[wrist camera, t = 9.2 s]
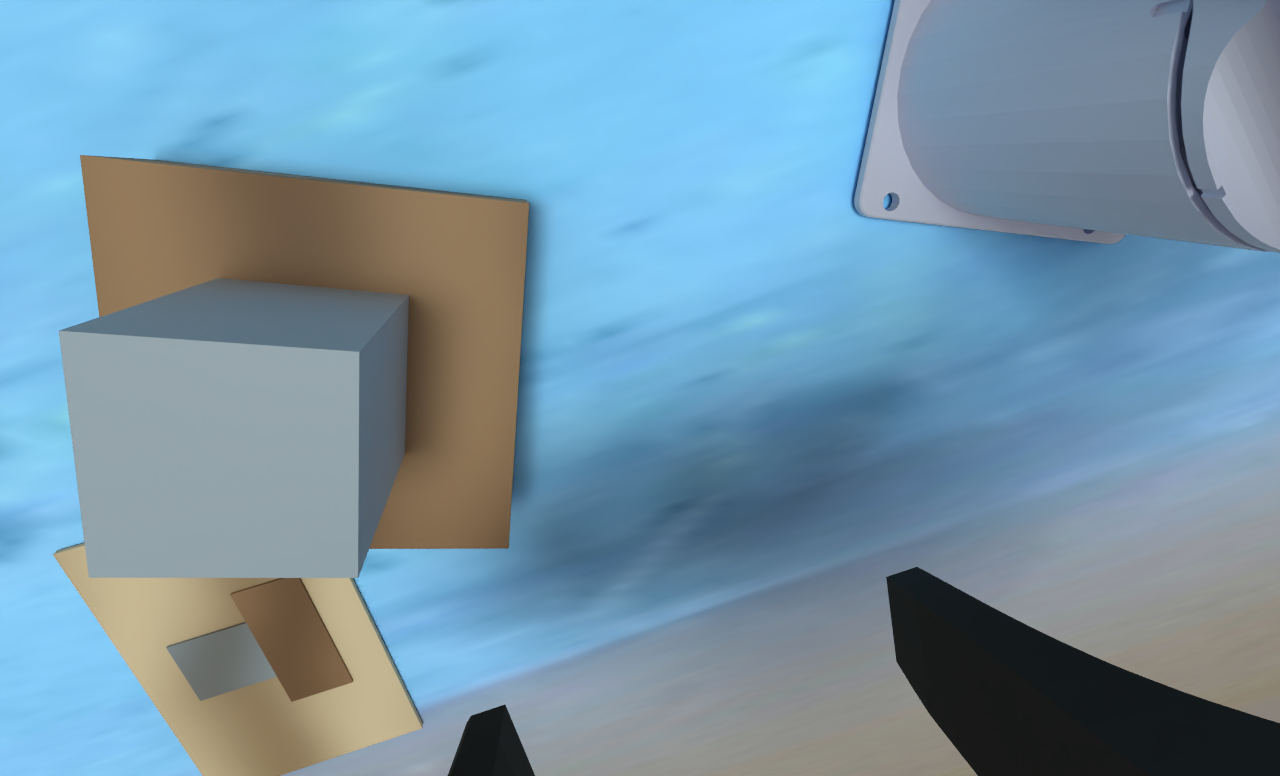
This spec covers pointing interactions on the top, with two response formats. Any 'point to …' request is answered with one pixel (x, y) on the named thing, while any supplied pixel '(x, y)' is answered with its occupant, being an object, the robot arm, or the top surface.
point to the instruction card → (253, 665)
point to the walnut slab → (355, 260)
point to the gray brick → (237, 430)
